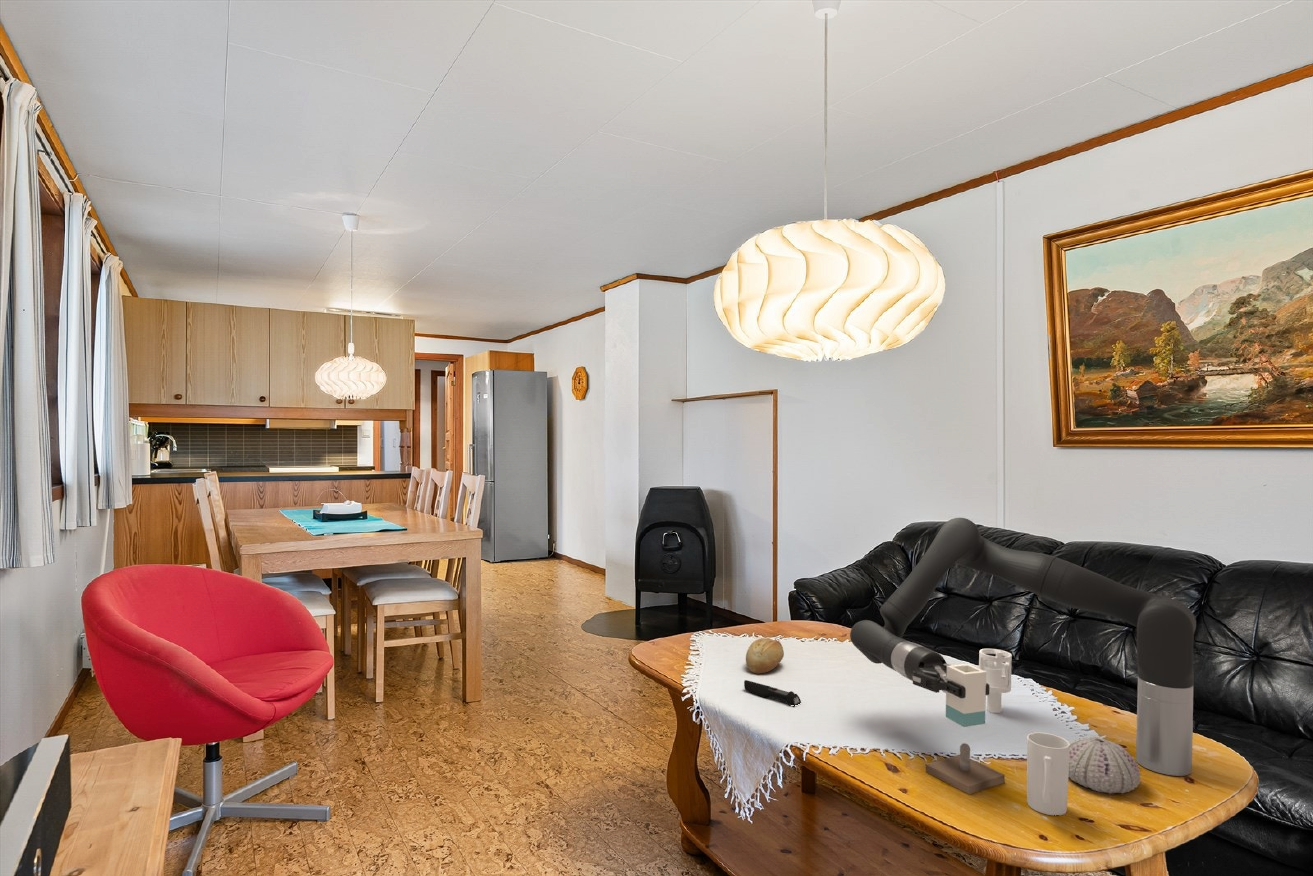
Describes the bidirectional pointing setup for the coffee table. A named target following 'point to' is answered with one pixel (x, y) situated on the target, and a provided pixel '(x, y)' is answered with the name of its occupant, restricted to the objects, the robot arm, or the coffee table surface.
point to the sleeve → (967, 695)
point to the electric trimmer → (772, 693)
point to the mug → (1047, 773)
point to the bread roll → (764, 655)
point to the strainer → (996, 676)
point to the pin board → (965, 772)
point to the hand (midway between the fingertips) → (975, 691)
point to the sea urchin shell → (1102, 766)
